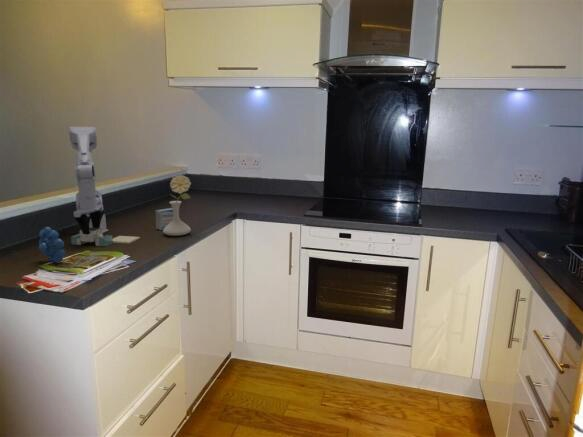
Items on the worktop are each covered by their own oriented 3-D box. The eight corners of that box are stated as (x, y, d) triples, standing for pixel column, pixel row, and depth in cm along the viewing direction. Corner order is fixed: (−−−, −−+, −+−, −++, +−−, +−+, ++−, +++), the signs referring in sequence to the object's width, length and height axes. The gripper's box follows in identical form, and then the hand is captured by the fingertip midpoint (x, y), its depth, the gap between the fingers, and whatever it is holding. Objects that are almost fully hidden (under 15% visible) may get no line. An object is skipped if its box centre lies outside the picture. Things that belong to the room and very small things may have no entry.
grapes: (30, 263, 140) (25, 227, 137) (49, 258, 146) (45, 223, 143) (52, 269, 135) (47, 232, 132) (71, 263, 140) (67, 227, 138)
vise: (80, 241, 167) (79, 233, 167) (113, 243, 165) (112, 235, 164) (71, 244, 162) (70, 236, 162) (105, 246, 160) (104, 238, 159)
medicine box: (161, 231, 184) (160, 211, 182) (156, 229, 187) (154, 209, 185) (177, 227, 190) (176, 208, 188) (172, 226, 193) (170, 207, 191)
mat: (119, 237, 173) (119, 235, 173) (140, 238, 172) (139, 236, 171) (107, 242, 166) (107, 240, 165) (128, 243, 164) (128, 242, 164)
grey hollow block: (90, 237, 166) (89, 227, 166) (103, 237, 165) (102, 227, 165) (80, 240, 161) (79, 230, 160) (93, 241, 160) (92, 231, 159)
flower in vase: (157, 236, 174) (153, 175, 169) (172, 230, 185) (169, 172, 180) (186, 239, 171) (183, 176, 166) (199, 232, 182) (197, 173, 176)
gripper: (84, 200, 152) (88, 237, 155) (109, 194, 166) (112, 228, 169) (67, 199, 153) (71, 236, 156) (92, 193, 167) (96, 227, 170)
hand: (91, 232), depth 163 cm, fingers closed on grey hollow block, 6 cm apart
